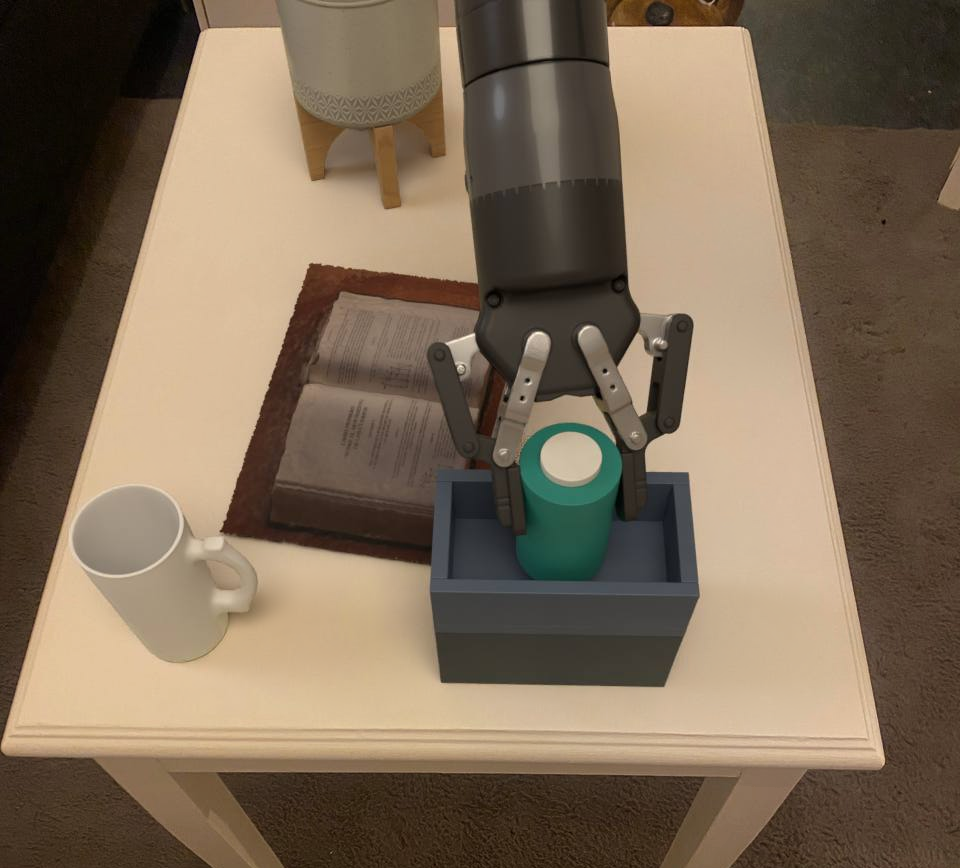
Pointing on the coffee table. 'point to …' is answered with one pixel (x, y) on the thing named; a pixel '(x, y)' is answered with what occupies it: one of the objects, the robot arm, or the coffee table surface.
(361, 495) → the book
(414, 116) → the planter
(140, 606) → the mug
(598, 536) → the plastic bottle
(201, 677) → the coffee table surface
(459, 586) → the open storage box
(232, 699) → the coffee table surface
